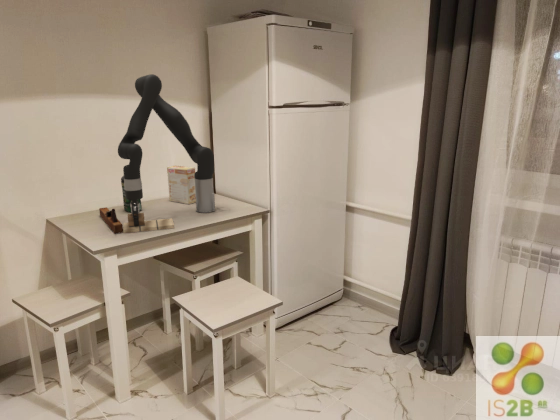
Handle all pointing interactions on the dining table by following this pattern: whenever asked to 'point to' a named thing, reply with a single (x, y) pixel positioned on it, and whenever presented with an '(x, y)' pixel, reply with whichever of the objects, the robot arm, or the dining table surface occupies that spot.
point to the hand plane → (111, 220)
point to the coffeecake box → (181, 184)
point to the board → (150, 226)
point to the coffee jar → (127, 202)
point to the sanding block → (131, 221)
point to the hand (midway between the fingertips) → (136, 224)
